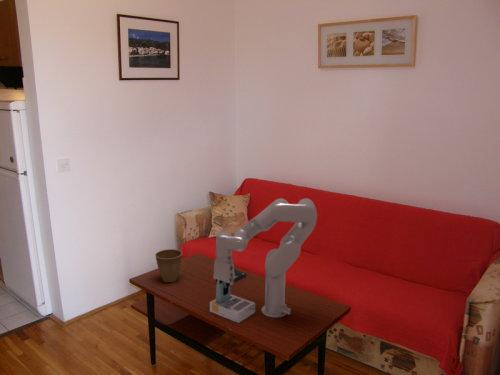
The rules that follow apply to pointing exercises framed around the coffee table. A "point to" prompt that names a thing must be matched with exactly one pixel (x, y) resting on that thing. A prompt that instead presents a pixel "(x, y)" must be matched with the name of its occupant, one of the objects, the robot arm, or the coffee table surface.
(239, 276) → the disk drive
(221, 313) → the frame
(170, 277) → the plant pot
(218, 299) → the panel
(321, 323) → the coffee table surface
